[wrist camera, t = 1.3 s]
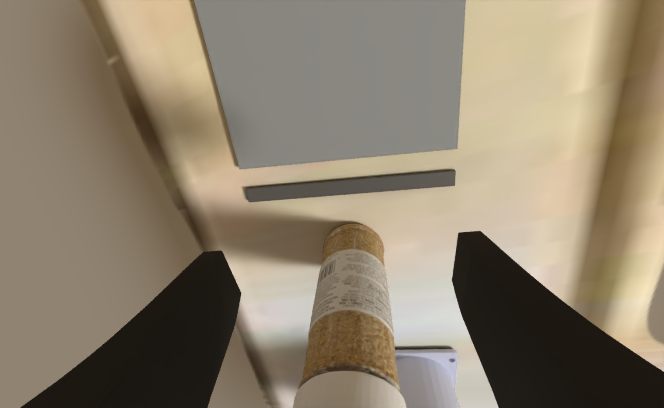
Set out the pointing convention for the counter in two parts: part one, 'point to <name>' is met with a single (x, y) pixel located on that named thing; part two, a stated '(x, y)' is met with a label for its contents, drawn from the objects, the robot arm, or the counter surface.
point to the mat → (335, 76)
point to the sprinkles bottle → (351, 328)
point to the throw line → (352, 186)
